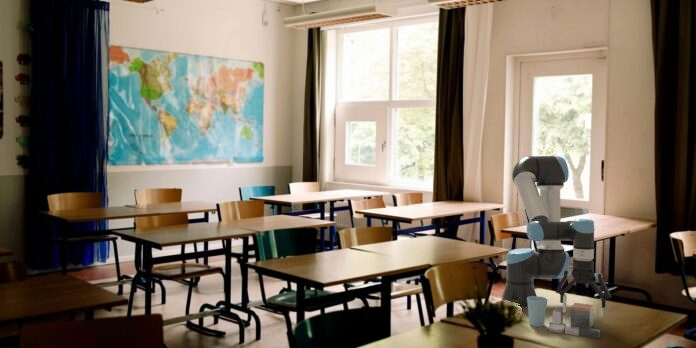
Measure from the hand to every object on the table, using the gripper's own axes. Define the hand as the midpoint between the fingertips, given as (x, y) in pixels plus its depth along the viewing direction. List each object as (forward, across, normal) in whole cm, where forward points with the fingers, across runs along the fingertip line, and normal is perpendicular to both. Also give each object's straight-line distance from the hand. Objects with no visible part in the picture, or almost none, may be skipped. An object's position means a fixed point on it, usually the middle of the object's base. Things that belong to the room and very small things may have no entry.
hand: (582, 313), depth 262 cm
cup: (+5, -16, -7) cm, 18 cm away
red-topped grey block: (+5, 0, 0) cm, 5 cm away
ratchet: (+5, -1, -12) cm, 13 cm away
